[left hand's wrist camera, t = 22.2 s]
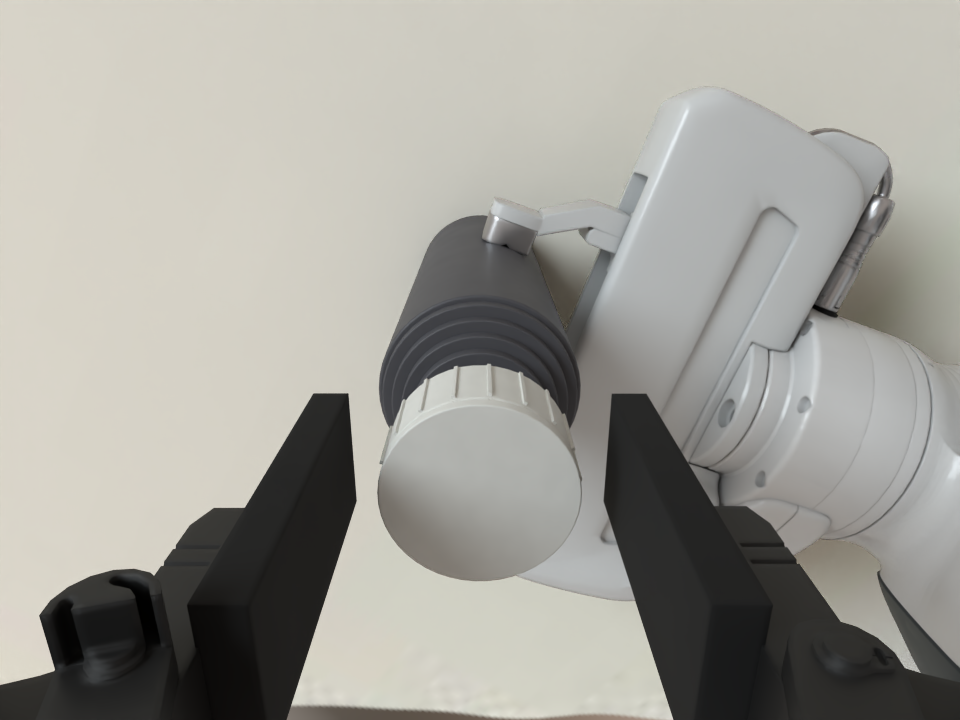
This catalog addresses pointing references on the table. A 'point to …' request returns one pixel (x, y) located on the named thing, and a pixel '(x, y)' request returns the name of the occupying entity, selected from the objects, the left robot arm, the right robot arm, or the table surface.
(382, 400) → the bottle
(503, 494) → the cap
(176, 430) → the table surface
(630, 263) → the right robot arm
